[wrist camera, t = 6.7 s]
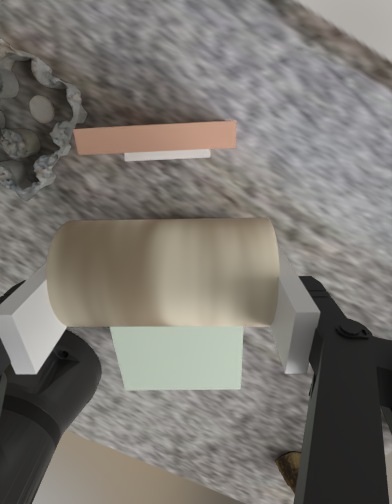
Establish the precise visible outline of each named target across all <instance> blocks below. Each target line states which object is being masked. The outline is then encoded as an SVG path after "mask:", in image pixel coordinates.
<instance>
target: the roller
mask: <svg viewBox="0 0 392 504" xmlns="http://www.w3.org/2000/svg"><path fill="white" fill-rule="evenodd" d="M278 277H280V265H279V253H278V246H277V240H276V235H275V232H274V228H273V226H272V223H271V221H270V220H269V219H268V218H206V219H145V220H84V221H68V222H66V223H65V224H63V225H62V226H61V227H60V228H59V229H58V231H57V232H56V234H55V236H54V237H53V240H52V242H51V245H50V248H49V251H48V256H47V262H46V273H45V279H47V291H48V297H49V301H50V304H51V307H52V310H53V312H54V314H55V316H56V317H57V319H58V320H59V321H60V322H61V323H62V324H63V325H65V326H67V327H172V326H270V325H271V323H272V321H273V319H274V316H275V312H276V307H277V299H278Z"/></svg>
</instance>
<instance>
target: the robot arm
mask: <svg viewBox="0 0 392 504" xmlns="http://www.w3.org/2000/svg"><path fill="white" fill-rule="evenodd" d="M277 246H278V253H279V265H280V277H278V299H277V307H276V312H275V316H274V319H273V321H272V323H271V325H270V326H269V327H270V330H271V333H272V336H273V339H274V342H275V345H276V348H277V351H278V354H279V357H280V360H281V363H282V366H283V369H284V372H285V374H302V373H307V370H308V365H309V362H310V364H311V367H312V369H313V371H314V376H313V380H312V384H311V388H310V392H309V396H310V399H309V405H308V412H307V419H306V425H305V432H304V438H303V445H302V452H301V458H300V465H299V471H298V478H297V484H296V491H295V498H294V504H389V496H388V486H387V475H386V464H385V454H384V444H383V433H382V423H381V412H380V406H381V408H382V411H383V413H384V416H385V418H386V421H387V423H388V426H389V429H390V431H391V434H392V341H391V340H386V339H382V338H378V337H374V336H372V333H371V332H370V331H369V330H368V329H367V328H366V327H365V326H364V325H362V324H360V323H359V322H357V321H354V320H351V319H348V318H346V316H345V315H344V314H343V312H342V311H341V309H340V308H339V307H338V305H337V304H336V303H335V301H334V300H333V299H332V298H331V296H330V295H329V293H328V292H326V289H325V288H324V286H323V285H322V284H321V282H319V281H318V280H316V279H315V278H313V277H312V276H298V275H297V274H296V272H295V270H294V269H293V267H292V266H291V264H290V262H289V261H288V259H287V258H286V256H285V254H284V253H283V251H282V250H281V248H280V246H279V245H278V243H277ZM45 273H46V263H45V264H44V265H43V266H42V267H41V268H40V269H38V270H37V271H36V272H35V273H34V274H33V275H32V276H31V277H30V278H29V279H28V280H24V281H22V282H20V283H19V284H17V285H15V286H13V287H12V288H11V289H9V290H8V291H7V292H6V293H5V294H4V296H1V297H0V504H32V502H33V500H34V498H35V495H36V493H37V491H38V488H39V486H40V484H41V481H42V479H43V477H44V475H45V472H46V470H47V468H48V465H49V463H50V461H51V458H52V456H53V454H54V451H55V449H56V447H57V445H58V443H59V440H60V438H61V436H62V434H63V433H64V432H65V430H66V429H67V428H68V427H69V425H70V424H71V423H72V422H73V421H74V419H75V418H76V417H77V416H78V414H79V413H80V412H81V410H82V409H83V408H84V407H85V405H86V404H87V403H88V402H89V401H90V400H91V398H92V397H93V395H94V393H95V391H96V389H97V386H98V384H99V381H100V378H101V364H100V361H99V359H98V357H97V355H96V354H95V352H94V351H93V350H92V349H91V347H90V346H89V345H88V344H86V343H85V342H84V341H83V340H82V339H80V338H79V337H77V336H76V335H74V334H72V333H70V332H68V331H66V328H67V326H65V325H63V324H62V323H61V322H60V321H59V320H58V319H57V317H56V316H55V314H54V312H53V310H52V307H51V304H50V301H49V297H48V291H47V279H45Z"/></svg>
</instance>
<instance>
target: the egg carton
mask: <svg viewBox="0 0 392 504" xmlns="http://www.w3.org/2000/svg"><path fill="white" fill-rule="evenodd" d="M30 58H31V60H32V61H31V69H32V72H33V74H34V76H35V78H36V79H37V80H38V82H39V83H40V84H42V85H43V86H45V87H49V88H54V89H66V88H67V87H68V88H67V89H66V91H67V96H66V98H67V101H68V102H69V104H70V105H71V107H72V110H73V118H72V119H71V121H59V122H58V123H57V124H56V125H55V127H54V129H53V131H52V132H51V133H50V136H51V137H52V140H53V142H54V143H55V144H57V145H58V146H59V147H60V149H59V150H56V151H55V152H54V154H50V155H42V156H40V158H39V159H38V160H36V161H35V163H34V172H35V173H36V174H37V175H36V177H37V178H38V179H39V180H40V181H39V182H34V183H32V182H30V181H29V180H28V178H27V172H26V169H25V167H24V166H23V165H22V164H21V163H20V162H19V161H16V160H7V161H2V162H0V183H2V184H3V185H4V186H5V187H6V188H9V189H11V190H14V191H15V192H16V193H17V194H18V195H19V196H20V197H21V198H23V199H24V200H25V201H28V200H30V199H31V198H32V197H33V196H34V195H35V194H36V193H37V192H38V191H39V190H40V188H42V187H45V186H47V185H50V184H52V183H53V182H54V180H55V178H56V175H55V174H54V173H53V171H52V170H51V169H52V167H53V166H54V165H55V164H56V163H57V161H58V159H59V158H60V156H64V155H67V154H68V152H69V150H70V148H71V145H70V144H69V142H70V140H71V137H72V134H73V129H75V126H76V124H77V123H83V122H84V121H85V119H86V117H87V112H86V111H85V110H84V108H83V107H82V105H81V101H82V98H81V92H80V91H79V90H78V89H77V88H76V87H75V86H74V85H72V84H69V83H65V82H63V81H62V80H60V79H59V78H57V77H54V76H52V69H50V67H48V66H47V65H46V64H45V63H44V62H43V61H42V60H41V59H39V58H37V57H36V56H35V55H32V54H29V53H27V52H24V51H21V50H16V49H14V48H13V47H12V46H11V45H10V44H9V43H7V42H5V41H4V40H2V39H1V38H0V99H1V98H7V99H9V98H13V97H15V96H16V95H17V94H18V90H19V84H18V80H17V79H16V77H15V75H14V74H13V72H12V71H11V70H12V66H13V64H14V62H15V61H16V60H18V61H27V60H29V59H30ZM29 109H30V112H31V115H32V116H33V118H34V119H35V120H36V121H38V122H40V123H44V124H47V123H50V122H51V121H52V120H53V119H54V117H55V109H54V106H53V104H52V102H51V101H50V100H49V99H48V98H47V97H45V96H41V95H36V96H34V97H33V98H32V99H31V100H30V103H29ZM5 124H6V123H5V116H4V115H3V113H2V111H1V110H0V131H1V133H2V135H1V140H0V143H1V145H2V147H3V149H4V150H5V151H6V152H7V154H8V155H9V156H10V157H11V158H19V159H21V158H24V157H28V156H33V155H36V154H37V153H38V152H39V151H40V141H39V139H38V136H37V135H36V134H35V133H34V132H32V131H31V130H28V129H4V128H5Z"/></svg>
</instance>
